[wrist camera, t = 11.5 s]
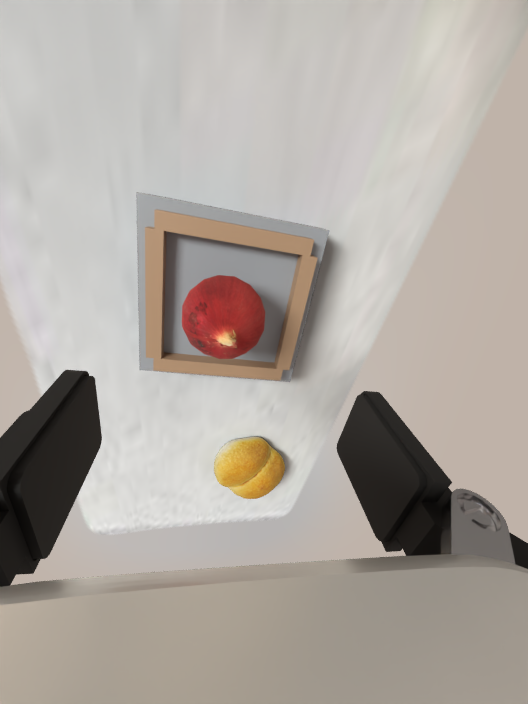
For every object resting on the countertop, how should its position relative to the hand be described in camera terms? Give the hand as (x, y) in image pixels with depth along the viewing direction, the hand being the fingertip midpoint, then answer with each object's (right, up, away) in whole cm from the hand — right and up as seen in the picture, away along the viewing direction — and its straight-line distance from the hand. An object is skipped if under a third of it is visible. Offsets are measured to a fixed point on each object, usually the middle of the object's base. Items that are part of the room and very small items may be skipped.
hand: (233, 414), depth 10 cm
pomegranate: (-2, +6, +13) cm, 15 cm away
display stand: (-2, +8, +16) cm, 18 cm away
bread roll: (-1, -12, +27) cm, 29 cm away
